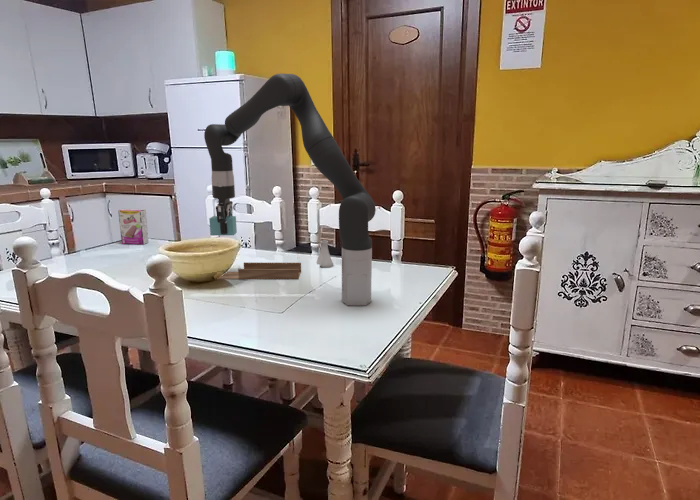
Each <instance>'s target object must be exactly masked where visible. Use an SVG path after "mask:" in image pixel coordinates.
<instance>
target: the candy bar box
mask: <svg viewBox="0 0 700 500" xmlns="http://www.w3.org/2000/svg"><path fill="white" fill-rule="evenodd" d="M118 221H119V229H120V230H119V231H120V240H121V245H141V246H144V245H147V244H149V236H148V235H149V233H148V223H147V222H148V221H147V212H146V209H143V208H142V209H141V208H138V209H137V208H122V209H118Z"/></svg>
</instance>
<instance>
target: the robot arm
mask: <svg viewBox="0 0 700 500" xmlns="http://www.w3.org/2000/svg"><path fill="white" fill-rule="evenodd" d="M277 107H289V108H290V109H291V110H292V112H293V113H294V115H295V116H296V119H297V120H298V122H299V125H300V127H301V129H300V130H301V138H302V144H303V148H304V149H305V152H306V154H307V155H308V157H309V158H310V161H311V162H312V163H313V164H314V167H315V168H316V169H317V170H318V171H319V172H320V173H321V174H322V175H323V176H324V177H325V178H326V179H327V180H328V181H330V183H331V184H333V186H334V187H335V189H337V191H338V193H339V194H340V196H341V198H342V201H341V202H340V205H339V209H338V232H339V233H338V235H339V239H340V241H341V302H342V303H343V304H345V305H346V306H368V304H370V303H371V302H372V273H373V272H372V271H373V270H372V269H373V266H372V265H373V263H372V262H373V258H372V257H373V239H372V237H371V236H370V235H369V222H371V221H372V220H373V219H374V217H375V215H376V210H377V209H376V204H375V201H374V199H373V198H372V197H371V195H370V193H368V191H367V189H365V187H364V186H363V184H362V183H361V182H360V181H359V179H358V178H357V176H356V174H355V172H354V171H353V169H352V167H351V166H350V164H349V162H348V160H347V159H346V156H345V155H344V153H343V152H342V150H341V148H340V146H339V144H338V143H337V141H336V139H335V137H334V136H333V135H332V133H331V132H330V130H329V128H328V126H327V125H326V123H325V121H324V119H323V118H322V116H321V115H320V113H319V111H318V109H317V107H316V105H315V102H314V101H313V99H312V96H311V95H310V92H309V90H308V88H307V86H306V84H305V82H304V81H303V80H302V78H301V77H300V76H298V75H297V74H293V73H276V74H273V75H272V76H270V77H269V78H268V79H267V81H265V83H264V84H263V85H262V86H261V87H260V88H259V89H258V90H257V91H256V92H255V93H254V95H252V97H251V98H249V99H248V100H247V101H246V102H245V103H243V104H242V105H241V106H240V107H238V108H237V109H235V110H234V111H233V112H231V113H230V114H229V115H228V116H226V118H225V120H224V124H223V123H221V124H220V123H219V124H218V123H214V124H213V123H212V124H211V123H210V124H208V125H207V126H206V127H205V130H204V134H203V136H204V138H203V139H204V142H205V145H206V148H207V152H208V153H209V158H210V161H211V162H210V164H211V165H210V166H211V189H212V191H211V192H212V198H213V199H218V203H217V204H216V206H215V212H216V216H217V221H218V223H219V224H220V231H221V234H227V217H228V216H234V215H233V203H234V202H233V201H232V200H230V199H233V198H235V197H236V191H235V175H234V167H233V156H232V155H231V154H230V153H227V152H225V150H224V148H223V147H226V146H227V147H228V146H231V145H232V144H234V143H236V142H237V141H238V140H239V138H240V137H241V135H242V134H243V133H245V132H247V131H249V129H251V128H253V127H254V126H255V125H256V124H257V123H258V122H259V120H260V119H261V117H262V116H263V115H264V114H265V113H266V112H268V111H270V110H273V109H275V108H277ZM222 217H223V219H221V218H222Z"/></svg>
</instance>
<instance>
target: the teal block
mask: <svg viewBox="0 0 700 500" xmlns="http://www.w3.org/2000/svg"><path fill="white" fill-rule="evenodd" d="M236 217H237V216H236V215H233V216H228V217H227V234H221V231H220V224H219V223H218V221H217V215H213V216H212V217H210V218H208V219H209V231H210V236H212V237H213V236H235V235H236V234H237V233H238V231H237V218H236ZM221 219H223V217H222V218H221Z"/></svg>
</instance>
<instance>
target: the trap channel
mask: <svg viewBox="0 0 700 500" xmlns="http://www.w3.org/2000/svg"><path fill="white" fill-rule="evenodd" d="M226 272H227V273H225V274H224V275H223V276H221V277H219V278H217V279H216V280H299V279H300V277H301V274H302V262H243V268H238V270H237V271H226Z"/></svg>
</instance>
